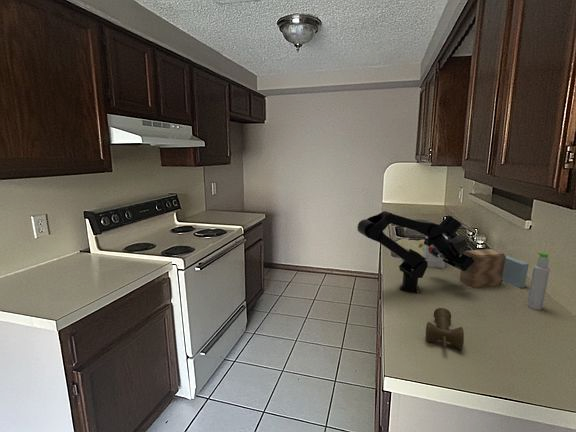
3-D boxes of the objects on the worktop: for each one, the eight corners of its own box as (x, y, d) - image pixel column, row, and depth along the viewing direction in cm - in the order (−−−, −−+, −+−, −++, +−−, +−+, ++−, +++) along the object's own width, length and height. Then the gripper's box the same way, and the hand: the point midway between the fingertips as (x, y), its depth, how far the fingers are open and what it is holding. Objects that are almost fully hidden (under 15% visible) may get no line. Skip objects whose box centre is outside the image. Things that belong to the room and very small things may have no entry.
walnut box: (472, 287, 129) (476, 255, 126) (459, 280, 136) (463, 250, 133) (501, 285, 132) (506, 254, 129) (487, 278, 139) (492, 248, 136)
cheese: (435, 261, 165) (421, 238, 174) (437, 255, 159) (423, 231, 168) (406, 270, 165) (394, 246, 174) (408, 264, 159) (395, 239, 168)
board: (518, 287, 130) (522, 264, 128) (490, 274, 143) (493, 253, 141) (524, 287, 130) (528, 264, 128) (496, 274, 144) (499, 253, 142)
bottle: (526, 302, 117) (536, 250, 113) (541, 306, 114) (552, 253, 110) (526, 307, 113) (536, 253, 109) (542, 311, 111) (553, 256, 107)
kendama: (458, 326, 102) (464, 361, 84) (425, 320, 105) (424, 352, 87) (459, 308, 101) (466, 340, 83) (426, 303, 104) (426, 332, 86)
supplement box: (423, 266, 152) (427, 236, 149) (422, 260, 161) (425, 231, 158) (444, 268, 150) (448, 238, 147) (442, 262, 158) (445, 233, 155)
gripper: (473, 236, 117) (494, 262, 122) (440, 224, 135) (459, 248, 140) (452, 258, 117) (474, 283, 122) (421, 243, 135) (442, 266, 140)
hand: (462, 269), depth 131 cm, fingers closed
